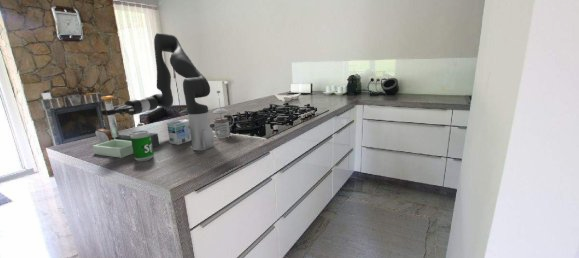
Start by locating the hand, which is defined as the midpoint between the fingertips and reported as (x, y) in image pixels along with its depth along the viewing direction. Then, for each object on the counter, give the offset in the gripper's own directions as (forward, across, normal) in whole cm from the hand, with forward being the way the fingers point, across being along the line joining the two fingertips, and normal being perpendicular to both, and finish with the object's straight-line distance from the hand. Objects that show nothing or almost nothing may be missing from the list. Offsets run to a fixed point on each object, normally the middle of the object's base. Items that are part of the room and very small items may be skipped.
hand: (104, 113), depth 124 cm
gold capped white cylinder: (-3, 0, +12) cm, 12 cm away
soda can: (+1, +21, +19) cm, 29 cm away
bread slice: (-9, -18, +20) cm, 28 cm away
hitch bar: (-13, 0, +20) cm, 23 cm away
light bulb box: (-25, +18, +20) cm, 37 cm away
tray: (-3, 0, +19) cm, 20 cm away
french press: (-40, +34, +20) cm, 56 cm away
